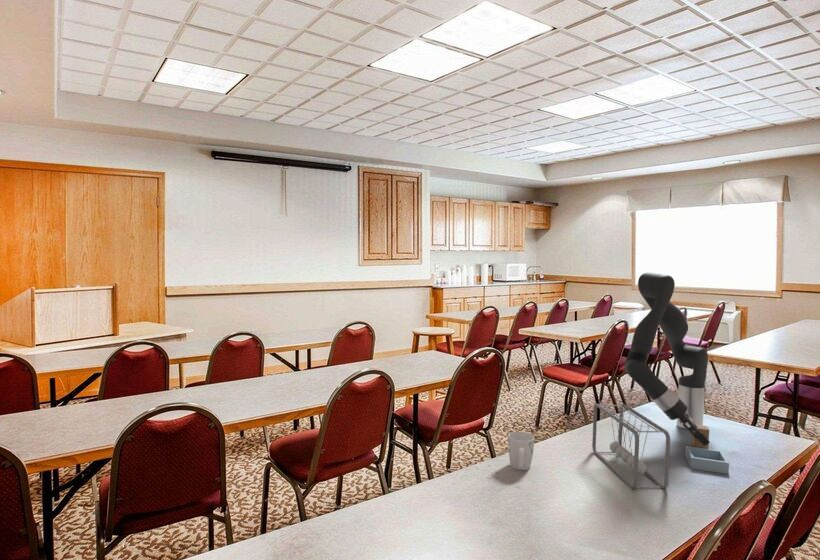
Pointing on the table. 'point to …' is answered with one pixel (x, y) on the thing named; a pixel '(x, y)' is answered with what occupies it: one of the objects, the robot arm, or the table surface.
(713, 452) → the tray
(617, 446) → the newton's cradle
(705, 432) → the block
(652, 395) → the robot arm
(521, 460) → the mug
